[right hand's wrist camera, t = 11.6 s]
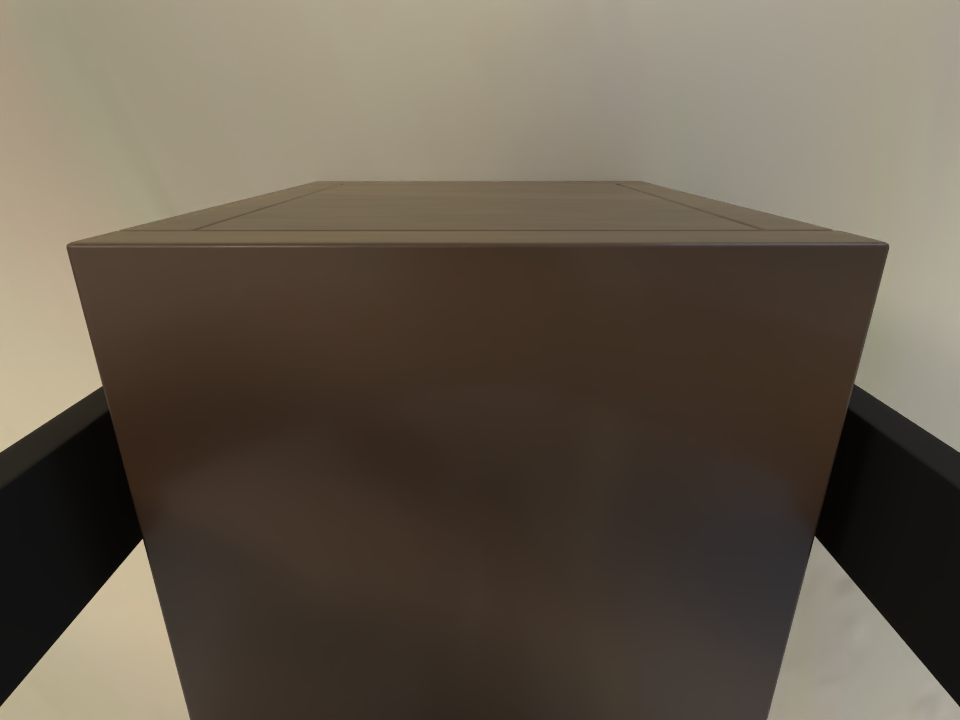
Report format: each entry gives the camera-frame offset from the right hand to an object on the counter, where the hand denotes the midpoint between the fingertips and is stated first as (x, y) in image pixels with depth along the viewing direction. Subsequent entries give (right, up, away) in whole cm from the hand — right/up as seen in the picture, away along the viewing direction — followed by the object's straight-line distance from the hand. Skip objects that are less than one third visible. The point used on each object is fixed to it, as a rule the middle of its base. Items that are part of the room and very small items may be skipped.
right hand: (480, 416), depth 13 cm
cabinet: (0, -2, +9) cm, 10 cm away
